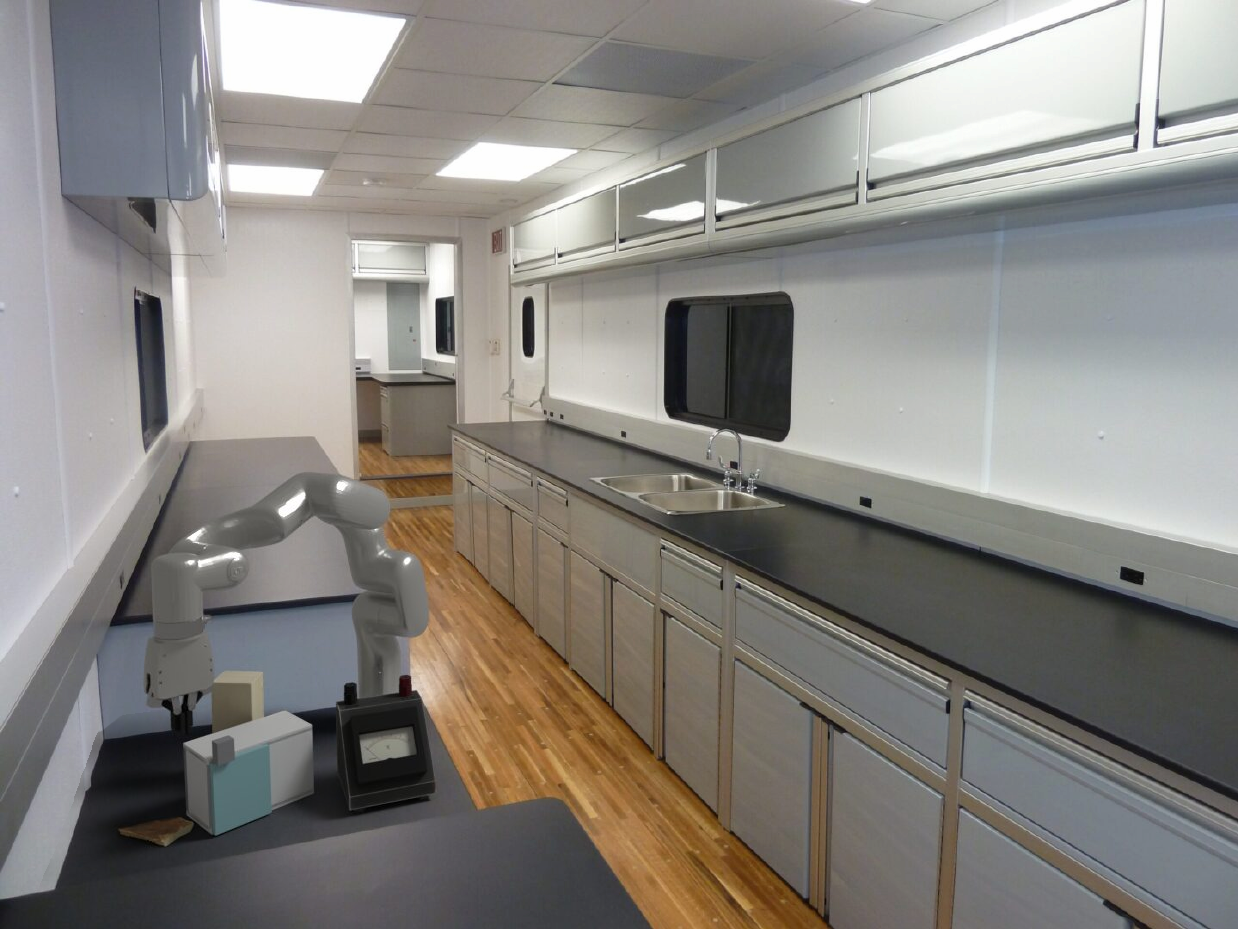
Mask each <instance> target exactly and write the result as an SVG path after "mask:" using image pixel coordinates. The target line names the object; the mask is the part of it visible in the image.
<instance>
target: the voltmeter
mask: <svg viewBox="0 0 1238 929" xmlns="http://www.w3.org/2000/svg"><path fill="white" fill-rule="evenodd" d="M424 708H425V707H424V702H423V698H422V696H421V694H420V693H419V692H418V690H417V689H413V684H412V676H411V675H409V674H403V675H402V674H401V676H400V677H399V693H392V694H385V695H378V696H372V697H365V698H358V683H357V682H346V683H345V684H344V685H343V700H340V701H339V700H337V701H335V720H336V724H335V725H336V728H335V729H336V765H337V770H336V773H337V775H338V779H339V781H340V785H341V788H342V790H343V794H344V797H345V800H346V803H347V807H348V810H349V811H353V810H354V812H355V813H364V811H366V809H367V808H369V807H373V806H379V805H383V804H388V803H394V802H399V801H406V800H408V799H409V800H410V799H415V798H416V799H417V798H418V799H417V800H419V799H420V800H419V801H423V799H424V800H426V799H428V798H429V795H435V794H437V781H436V775H435V768H434V762H433V757H432V750H431V744H430V739H429V732H428V726H427V721H426V714H425V709H424ZM427 797H428V798H427Z"/></svg>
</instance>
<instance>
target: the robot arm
mask: <svg viewBox="0 0 1238 929" xmlns="http://www.w3.org/2000/svg"><path fill="white" fill-rule="evenodd" d="M390 503H391V502H390V500H389V498H388V495H386V494H385V492H384V491H382V490H381V489H379V488H377V487H374V486H372V485H369V484H367V483H364V482H361V481H359V480H357V479H354V478H352V477H348V476H346V475H342V474H337V473H335V474H334V473H323V472H313V471H305V472H300V473H296V474H295V475H293V476H291V477H289V478H288V479H287V480H286V481H284V482H283V483H282V484H280V485H279V486H277V487H276V488H275V489H274V490H273V491H271V492H270V493H268V494H267V495H265V496H264V497H263V498H262V499H260V500H258V502H256V503H255V504H253V505H251V506H248V507H246V508H243V509H239V510H236V511H233V512H231V513H229V514H226V515H223V516H219V517H217V518H214V519H212V520H209V521H206V522H205V523H203V524H200V525H199V526H198V527H197V528H196V527H195V529H193V530H192V531H190V532H189V533H187V534H186V535H185V536H183V537H182V538H181V539H180V540H178V541H177V542H176V543H175V544H174V545H173V546H172V547H171V549H170V550H168V553H164V554H161V555H158V556H157V557H155V558H154V559H153V561H152V562H151V565H150V566H151V567H150V570H151V573H150V574H151V576H150V578H151V597H152V598H151V601H152V630H153V631H152V633H153V636H152V637H149V638H148V639H147V644H146V648H145V655H144V663H143V664H144V666H143V684H142V685H143V692H144V693H145V694H146V695H147V697H146V703H145V704H146V706H147V707H149V708H151V709H156V708H164V709H167V711H169V712H170V729H171V731H172V732H174V733H175V734H176V735H177V736H179V737H184V736H185V735H191V734H192V727H194V714H193V713H194V712H193V711H194V710H195V709H196V706H197V704H198V703H199V701H200V700H201V699H202V698H203V697H204V696H207V695H208V694H211V692H212V691H213V690H214V686H213V683H214V680H215V663H214V654H213V649H212V646H211V641H210V637H209V632H208V631H207V630H206V624H209V623H211V622H212V615H211V614H204V600H203V599H204V598H203V597H204V596H203V595H204V594H206V593H211V592H212V593H213V592H223V591H227V590H231V589H234V588H236V587H238V586H240V585H241V584H242V583H243V582H244V581H245V580H246V578H247V577H248V575H249V571H250V562H249V559H248V557H247V555H246V554H245V553H244V552H243V550H248V549H258V548H262V547H267V546H272V545H276V544H279V543H281V542H283V541H285V540H286V539H287V538H288V537H289V536H290V535H292V534H293V533H294V532H296V531H297V530H298V529H299V528H300V527H302V526H303V525H304V524H306V522H308V521H309V520H310V519H312V518H313V517H316V518H317V519H319V520H320V521H322V522H323V523H326V524H327V525H332V526H333V527H335V528H336V529H337V530H338V532H340V534H341V536H342V539H343V543H344V546H345V551H346V556H347V562H348V565H349V567H348V568H349V569H350V575H351V578H352V582H353V583H354V585H355V586H356V587H358V588H359V589H362V590H365V591H363V592H361V593H360V594H358V595H357V596H356V598H355V599H354V601H353V603H352V606H351V618H352V623H353V628H354V632H355V638H356V650H357V652H356V653H357V654H356V656H357V699H358V698H365V697H372V696H378V695H385V694H392V693H399V677H400V676H402V659H401V658H402V657H401V656H402V654H401V653H402V652H401V646H400V643H399V640H398V637H399V638H400V637H401V638H408V639H411V638H412V639H413V638H417V637H419V636H421V635H423V634H424V632H426V629H427V628H428V626H429V621H430V607H429V606H430V605H429V598H428V592H427V587H426V585H427V584H426V581H425V573H424V570H423V569H424V568H423V566H422V565H423V564H422V563H421V561H420V560H419V558H418V557H417V556H416V554H413V553H411V552H409V551H405V550H397V549H391V548H390V547H389V546H388V544H387V541H386V537H385V534H384V530H383V526H384V525H385V524H386V523H387V521H388V520H389V518H390V515H391V504H390ZM180 697H181V700H180Z"/></svg>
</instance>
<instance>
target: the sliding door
mask: <svg viewBox="0 0 1238 929" xmlns="http://www.w3.org/2000/svg"><path fill="white" fill-rule="evenodd" d="M212 757H213V762H212V763H210V777H211V800H212V823H213V835H214V836H219V835H220V834H223V833H225V832H226V833H227V832H228V831H230V830H233V829H235V828H238V827H240V826H243V825H245V824H248V823H249V822H253V821H255V820H257V819H260V818H262V817H264V816H267V815H270V814H272V813H273V812H272V811H273V810H272V808H271V778H270V749H269V745H268V744H264V745H261V746H258V747H255V748H253V749H250V750H247V751H244V752H241V753H238V754H235V750H234V738H232V737H231V736H229V735H228V736H225V737H222V738H219V739H216V740H212Z"/></svg>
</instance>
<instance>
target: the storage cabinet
mask: <svg viewBox="0 0 1238 929" xmlns="http://www.w3.org/2000/svg"><path fill="white" fill-rule="evenodd" d="M228 735H229V736H231V737H232V738H234V750H235V754H238V753H241V752H244V751H247V750H250V749H253V748H255V747H258V746H261V745H264V744H268V745H269V749H270V778H271V808H272V811H273V810H276V809H279V808H281V807H284V806H287V805H288V804H291V803H293V802H296V801H298V800H301V799H303V798H306V797H308V796H311V795H313V794H315V787H314V786H315V782H314V780H315V779H314V778H315V777H314V749H313V748H314V747H313V746H314V744H313V743H314V741H313V739H314V738H313V724H312V723H309V722H307V721H306V720H304V719H302V718H300V717H299V716H296V715H295V714H293V713H291V712H289V711H287V710H282V711H279V712H275V713H272V714H270V715H267V716H264V717H263V718H260V719H257V720H253V721H250V722H247V723H244V724H241V725H238V726H235V727H232V728H229V729H225V730H222V731H219V732H216V733H213V732H212V733H210V734H207V735H204V736H200V737H197V738H195V739H191V740H189V741H186V742H183V743H182V744H183V765H184V767H183V768H184V769H183V771H184V784H185V785H184V787H185V788H184V789H185V808H186V810H185V811H186V812H185V813H186V816H188V817H189V818H190V819H191V821H194V822H195V823H196V824H197V825H199V826H200V827H201V828H203V829H204V830H206V831H207V832H208V833H209V834H211V835H214V834H213V823H212V800H211V777H210V763H212V762H213V757H212V740H216V739H219V738H222V737H225V736H228Z"/></svg>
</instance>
